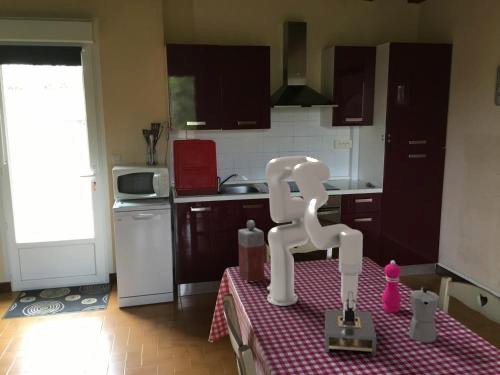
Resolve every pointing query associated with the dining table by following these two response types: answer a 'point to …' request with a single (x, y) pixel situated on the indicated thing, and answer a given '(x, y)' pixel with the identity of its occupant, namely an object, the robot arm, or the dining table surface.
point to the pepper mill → (392, 288)
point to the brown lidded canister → (251, 253)
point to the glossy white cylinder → (344, 316)
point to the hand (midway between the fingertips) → (349, 317)
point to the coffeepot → (423, 315)
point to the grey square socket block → (349, 332)
